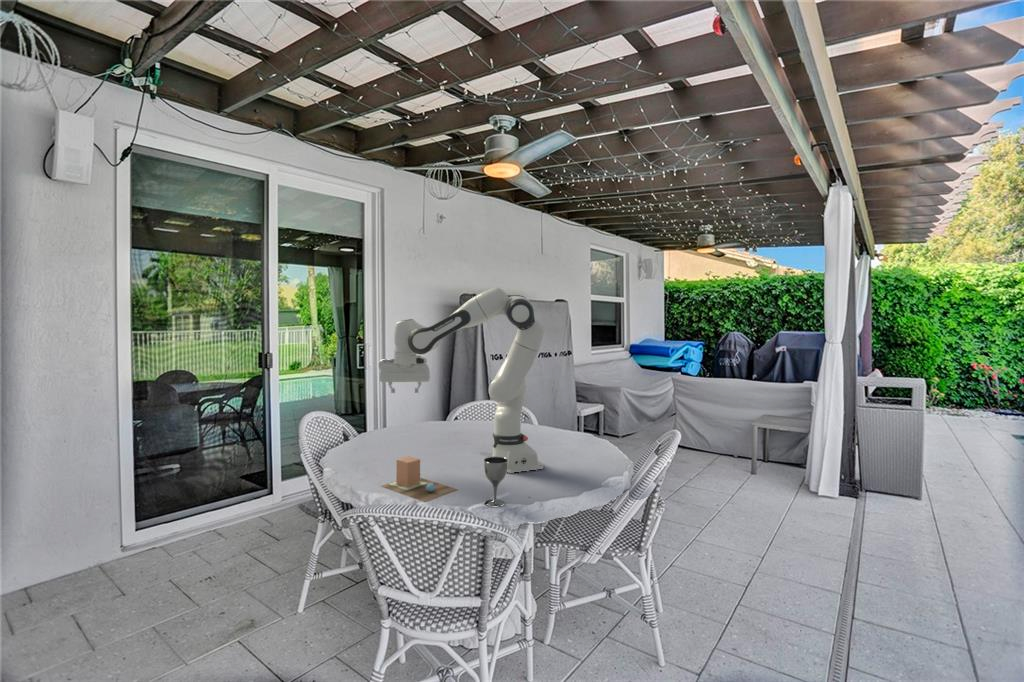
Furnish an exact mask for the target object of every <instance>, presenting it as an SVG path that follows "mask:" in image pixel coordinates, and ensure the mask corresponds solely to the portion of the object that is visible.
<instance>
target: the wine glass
mask: <svg viewBox="0 0 1024 682" xmlns="http://www.w3.org/2000/svg"><path fill="white" fill-rule="evenodd" d="M507 465H508V460H507V459H506V458H504V457H492V456H487V457H485V458H484V459H483V467H484V474H485V477H486V479H487V480H488V481H489V482H490V483H491V485H492V488H493V499H494V500H493V499H489V500H486V501H484V505H485V504H487V505H490V506H501V505H503V504H505V503H506V502H505V501H504V500H502V499H497V492H498V486H499V484H501V482H502V481H503V480H505V477H506V475H507ZM501 500H502V501H501ZM503 501H504V502H505V503H504V502H503ZM505 505H506V504H505Z"/></svg>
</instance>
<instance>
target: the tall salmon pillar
mask: <svg viewBox="0 0 1024 682" xmlns="http://www.w3.org/2000/svg"><path fill="white" fill-rule="evenodd" d="M395 476H396V480H395V481H396V484H398V485H401V486H404V487H410V486H413V485H416V484H419V483H420V478H421V459H420V458H417V457H414V456H409V455H408V456H405V457H401V458H398V459H396V475H395Z"/></svg>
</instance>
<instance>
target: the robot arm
mask: <svg viewBox="0 0 1024 682" xmlns="http://www.w3.org/2000/svg"><path fill="white" fill-rule="evenodd" d="M534 311H535V310H534V308H533V304H532V302H531V301H530V300H529V299H527V297H525V296H523V295H519V294H517V295H515V294H514V295H512V294H511V295H510V294H509V295H508V294H507V293H506V292H505V291H504V290H503V289H502V288H500V287H492V288H490V289H487V290H485V291H482V292H480V293H478V294H475V296H473V297H472V298H470V299H469V300H466V302H464V303H463V304H462V305H461V306H460V307H459V308H458V309H456V310H455V311H453V313H451V314H450V315H448V316H447V317H445V318H443V319H441V320H440V321H437V322H436V323H434V324H432V325H430V326H425V325H424V324H422V323H419V322H418V321H416V320H415V319H412V318H409V319H403V320H399V321H397V322H396V323H395V326H394V331H393V332H394V335H393V342H394V350H393V358H388V359H387V358H386V359H385V358H383V359H381V360H380V361H379V363H378V369H379V381H380V382H381V383H388V386H389V389H390V393H391V394H395V393H396V389H395V388H394V387H393V386H392V385H393V383H417V387H415V388H414V393H415V394H418V393H419V392H420V391H419V389H420V388H421V386H422V383H426V382H429V381H431V374H430V368H429V365H428V364H427V363H428V359H427V357H424V356H421V355H425V354H427V353H429V352H432V351H433V350H435V349H437V347H439V344H440V343H441V340H442V339H444V338H445V337H448V336H449V335H451V334H453V333H455V332H456V331H459V330H463V329H467V328H473V327H476V326H479V325H481V324H484V323H486V322H488V321H490V320H491V319H493V318H494V317H497V316H500V315H502V316H503V315H504V316H506V317H507V319H508V321H509V323H511V324H512V325H513V326H515V327H516V328H517V329H516V330H517V331H516V335H515V337H514V339H513V341H512V343H511V345H510V348H509V351H508V352H507V355H506V357H505V359H504V360H503V362H502V364H501V366H500V367H499V369H498V371H497V372H496V375H495V377H494V378H493V380H492V381H491V382H490V384H489V386H488V394H489V397H490V398H491V400H492V401H494V402H496V403H497V406H496V409H495V412H494V415H493V416H494V417H493V433H492V455H491V457H504V458H506V459H507V460H508V465H507V472H508V474H515V473H514V472H519V473H522V472H521V471H527V472H530V471H529V470H535V469H541V468H543V469H544V464H543V462H542V461H540V460H539V457H538V454H537V453H538V452H536V451H537V450H535V449H534V448H533V447H532V446H530V445H529V444H528V443H527V441H528V440H529V437H528V436H527V435H525V434H523V433H522V432H521V426H522V425H521V423H522V421H521V420H522V409H523V405H524V398H525V392H526V388H527V382H526V379H525V378H526V377H527V375H528V373H529V371H530V370H531V368H532V366H533V364H534V362H535V360H536V357H537V355H538V352H539V350H540V347H541V345H542V343H543V338H544V336H545V326H544V325H543V323H542V322H540V321H539V320H536V319H535V313H534ZM507 472H506V473H507Z"/></svg>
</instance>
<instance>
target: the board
mask: <svg viewBox="0 0 1024 682" xmlns="http://www.w3.org/2000/svg"><path fill="white" fill-rule="evenodd" d="M429 483H433V484H434V485H435V489H434V491H432V492H429V491H427V489H426V487H427V485H428V484H429ZM380 487H381V488H384V489H387V490H389V491H393V492H395V493H398V494H401V495H403V496H407V497H409V498H412V499H415V500H418V501H420V502H423V503H426V502H429V501H432V500H436V499H437V498H438V499H439V498H440V497H443V496H445V495H448V494H452V493H454V492H456V491H459V489H458V488H454V487H452V486H448V485H445V484H442V483H439V482H435V481H432V480H429V479H426V478H423V477H420V483H419V484H416V485H413V486H410V487H404V486H401V485H398V484H396V480H395V481H391V482H390V483H385V484H382V485H380Z"/></svg>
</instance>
